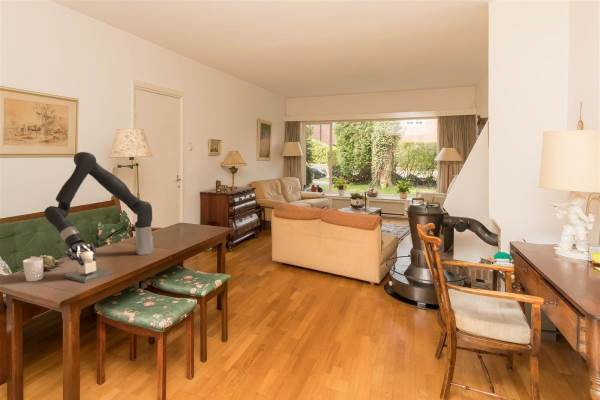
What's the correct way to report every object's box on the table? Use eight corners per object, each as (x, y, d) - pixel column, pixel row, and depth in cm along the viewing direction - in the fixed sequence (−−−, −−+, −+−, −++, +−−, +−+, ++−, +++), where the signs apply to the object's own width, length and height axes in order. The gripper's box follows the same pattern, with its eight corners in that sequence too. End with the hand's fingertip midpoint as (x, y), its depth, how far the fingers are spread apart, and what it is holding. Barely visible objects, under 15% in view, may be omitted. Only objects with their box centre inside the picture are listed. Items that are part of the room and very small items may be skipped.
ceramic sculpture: (36, 250, 186) (65, 251, 187) (36, 265, 187) (65, 266, 189) (23, 256, 175) (54, 257, 177) (23, 272, 176) (54, 273, 178)
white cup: (28, 277, 169) (26, 258, 168) (47, 275, 172) (45, 256, 171) (21, 282, 162) (19, 262, 161) (41, 281, 165) (39, 261, 163)
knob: (89, 268, 176) (87, 249, 174) (96, 270, 173) (95, 250, 172) (78, 272, 171) (76, 252, 169) (85, 273, 168) (84, 253, 167)
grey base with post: (90, 269, 182) (89, 258, 181) (111, 273, 176) (110, 262, 175) (63, 277, 169) (62, 266, 168) (85, 282, 163) (84, 270, 162)
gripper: (60, 236, 166) (78, 262, 163) (88, 230, 179) (105, 254, 176) (54, 245, 169) (72, 271, 165) (82, 238, 182) (99, 263, 179)
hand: (89, 262), depth 171 cm, fingers closed on knob, 5 cm apart
